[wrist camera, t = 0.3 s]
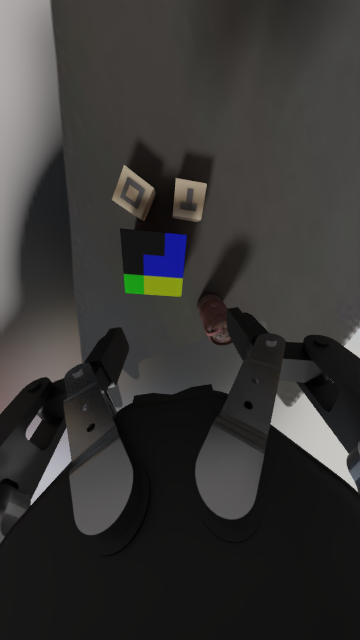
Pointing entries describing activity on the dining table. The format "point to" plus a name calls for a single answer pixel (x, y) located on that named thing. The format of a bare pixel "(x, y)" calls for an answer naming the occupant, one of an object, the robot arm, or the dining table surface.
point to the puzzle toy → (153, 262)
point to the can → (214, 318)
